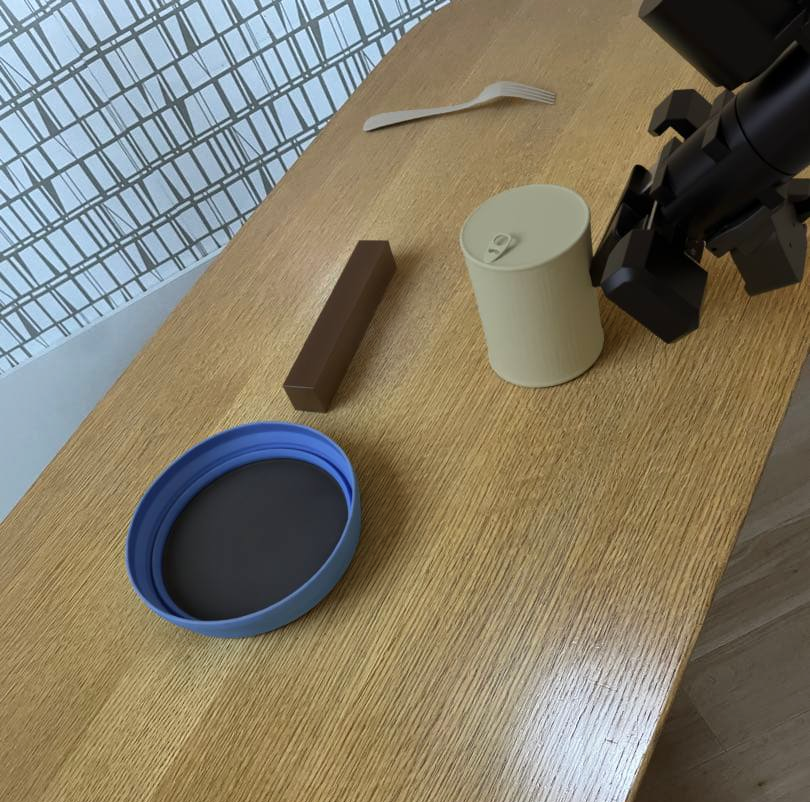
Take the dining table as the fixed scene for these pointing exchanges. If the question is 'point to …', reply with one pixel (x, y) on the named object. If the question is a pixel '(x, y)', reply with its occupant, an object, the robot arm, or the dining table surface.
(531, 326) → the can
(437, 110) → the fork
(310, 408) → the rail
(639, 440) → the dining table surface
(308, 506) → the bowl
